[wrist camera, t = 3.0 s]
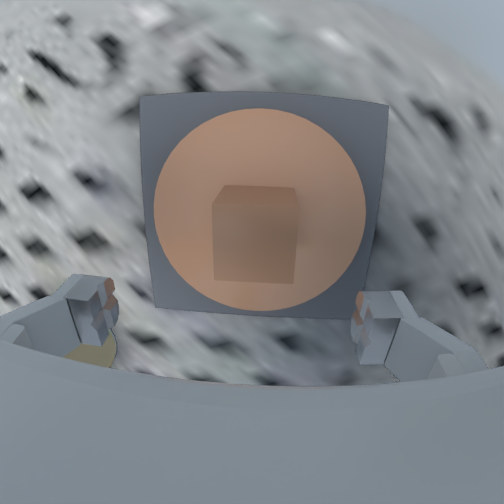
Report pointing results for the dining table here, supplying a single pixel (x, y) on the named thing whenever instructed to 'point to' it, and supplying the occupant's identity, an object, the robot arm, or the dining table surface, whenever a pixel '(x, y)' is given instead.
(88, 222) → the dining table surface
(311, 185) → the lid
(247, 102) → the mat
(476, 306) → the dining table surface
